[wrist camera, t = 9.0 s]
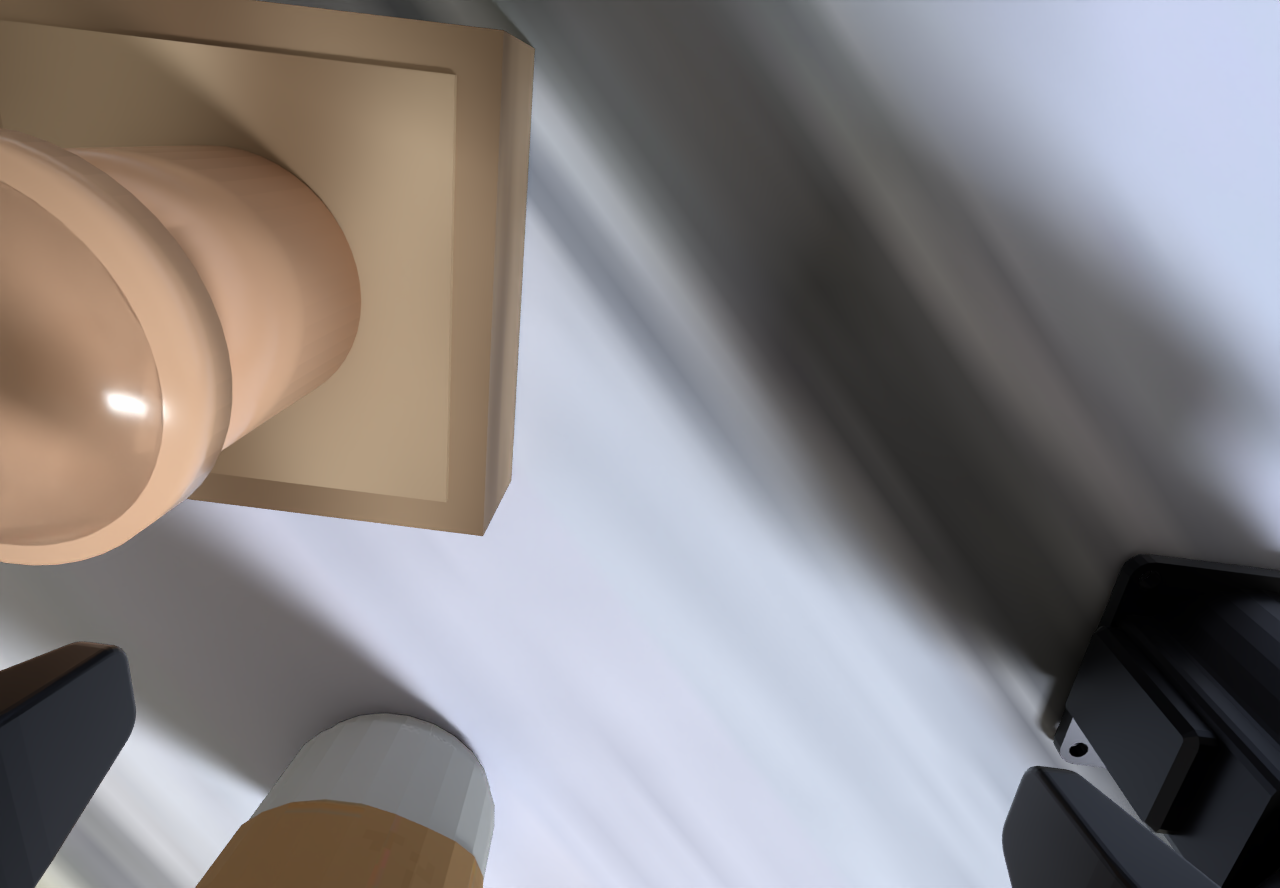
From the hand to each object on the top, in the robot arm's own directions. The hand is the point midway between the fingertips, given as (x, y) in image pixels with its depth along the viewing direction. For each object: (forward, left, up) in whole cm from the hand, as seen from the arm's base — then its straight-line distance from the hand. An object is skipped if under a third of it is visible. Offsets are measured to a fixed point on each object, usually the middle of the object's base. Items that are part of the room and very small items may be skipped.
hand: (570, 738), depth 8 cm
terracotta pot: (+8, -2, -9) cm, 12 cm away
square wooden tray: (+8, -2, -12) cm, 14 cm away
